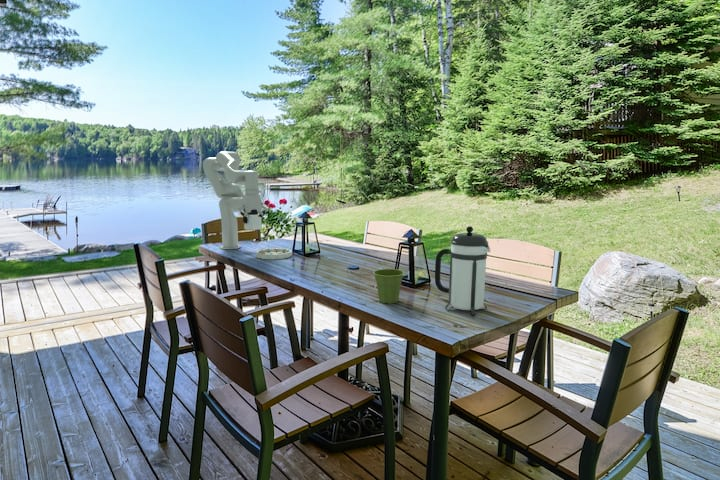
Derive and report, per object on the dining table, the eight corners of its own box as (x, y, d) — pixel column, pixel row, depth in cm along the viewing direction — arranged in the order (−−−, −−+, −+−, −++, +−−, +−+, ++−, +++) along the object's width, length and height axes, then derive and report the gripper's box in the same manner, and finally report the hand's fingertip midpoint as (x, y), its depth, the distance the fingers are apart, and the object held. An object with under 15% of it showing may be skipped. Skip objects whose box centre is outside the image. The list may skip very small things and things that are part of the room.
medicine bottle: (262, 229, 252) (261, 208, 250) (252, 230, 246) (251, 209, 245) (253, 228, 256) (252, 207, 254) (244, 229, 250) (243, 208, 248)
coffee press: (479, 302, 163) (483, 223, 158) (493, 316, 148) (498, 229, 143) (433, 302, 163) (436, 223, 158) (442, 316, 147) (446, 229, 142)
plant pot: (384, 294, 173) (385, 267, 171) (410, 300, 165) (410, 271, 163) (366, 301, 164) (366, 272, 162) (392, 307, 156) (392, 277, 154)
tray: (250, 254, 250) (250, 249, 250) (281, 251, 262) (281, 246, 262) (265, 260, 234) (265, 255, 234) (297, 256, 246) (297, 251, 246)
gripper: (263, 192, 256) (264, 221, 259) (234, 192, 246) (236, 223, 248) (268, 192, 250) (269, 222, 253) (239, 193, 240) (241, 224, 242)
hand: (253, 222), depth 251 cm, fingers closed on medicine bottle, 8 cm apart
